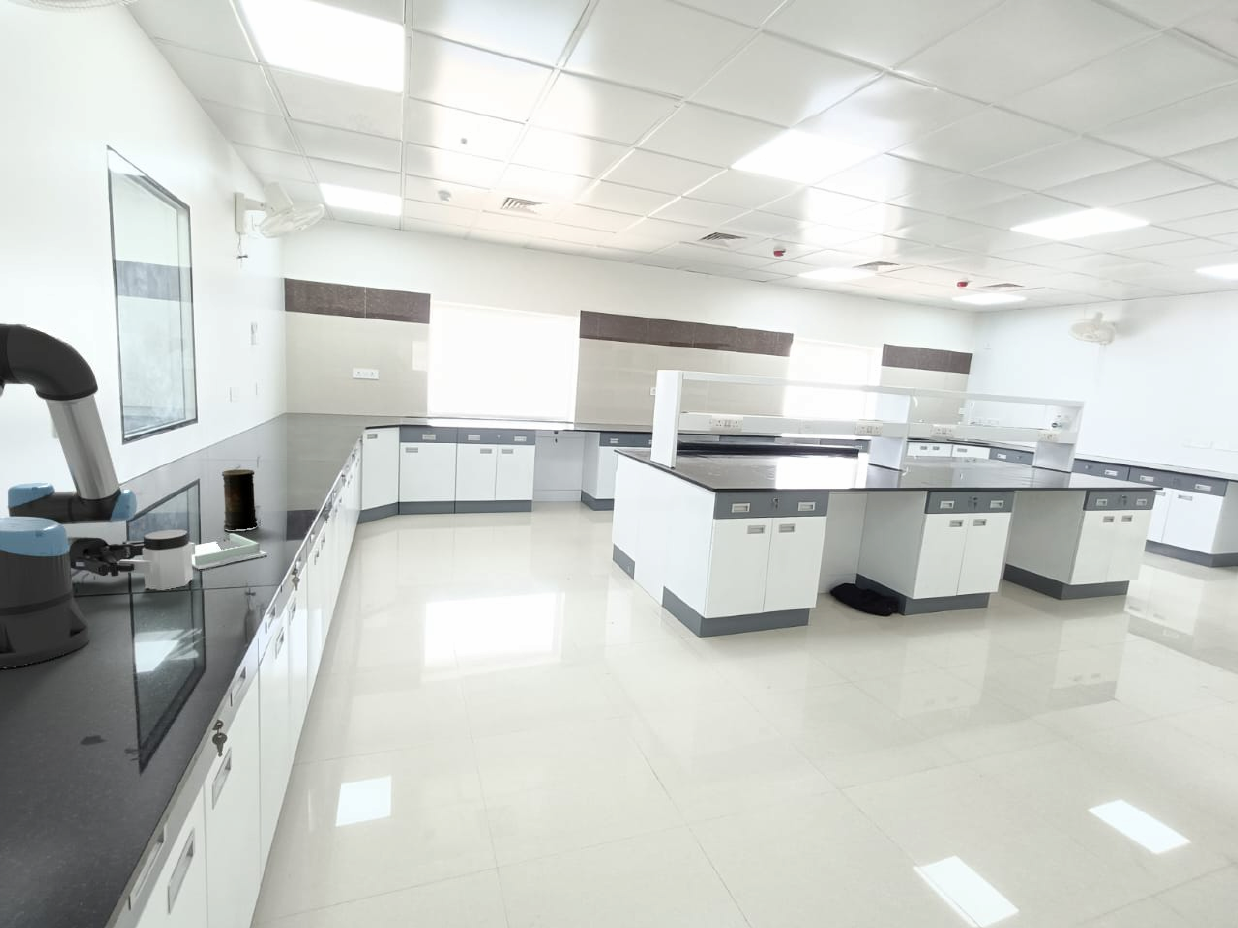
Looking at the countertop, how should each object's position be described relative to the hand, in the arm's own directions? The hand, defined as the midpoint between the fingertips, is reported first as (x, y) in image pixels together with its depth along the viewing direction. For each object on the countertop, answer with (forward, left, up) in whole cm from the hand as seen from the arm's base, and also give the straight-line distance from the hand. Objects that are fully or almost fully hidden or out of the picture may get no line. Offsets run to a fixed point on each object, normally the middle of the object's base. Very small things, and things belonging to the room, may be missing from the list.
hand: (173, 557), depth 137 cm
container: (+38, -31, -7) cm, 50 cm away
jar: (+1, +1, -7) cm, 7 cm away
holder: (+16, -15, -6) cm, 23 cm away
